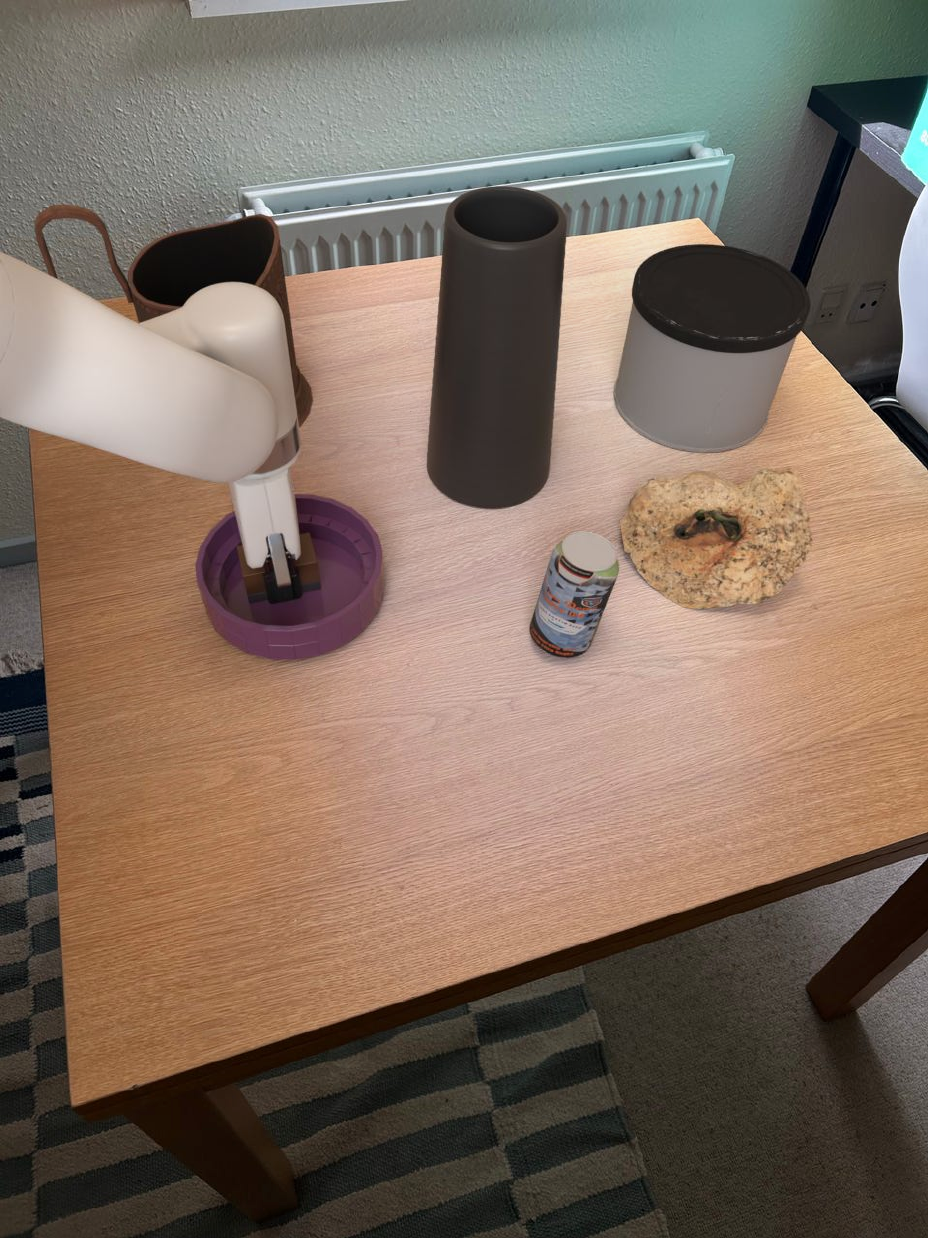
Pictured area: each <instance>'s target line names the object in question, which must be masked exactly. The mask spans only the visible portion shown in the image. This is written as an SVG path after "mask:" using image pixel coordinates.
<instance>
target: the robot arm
mask: <svg viewBox="0 0 928 1238" xmlns="http://www.w3.org/2000/svg"><path fill="white" fill-rule="evenodd" d="M0 419H3V420H6V421H8V422H11V423H13V424H16V425H19V426H22V427H25V428H27V429H31V430H35V431H37V432H40V433H44V434H46V435H47V434H48V435H51V436H54V437H57V438H61V439H65V440H69V441H72V442H75V443H78V444H82V445H85V446H88V447H92V448H95V449H98V450H101V451H104V452H107V453H111V454H113V455H116V456H119V457H122V458H125V459H128V460H131V461H134V462H138V463H140V464H143V465H145V466H150V467H153V468H156V469H159V470H162V471H166V472H169V473H173V474H175V475H181V476H185V477H189V478H192V479H193V478H194V479H198V480H202V481H205V482H211V483H216V484H225V483H226V484H228V489H229V493H230V498H231V502H232V506H233V511H235V515H236V519H237V524H238V528H239V532H240V537H241V541H242V545H243V549H244V554H245V558H246V562H247V565H248V566H250V567H251V568H253V569H254V568H259V567H262V566H263V564H264V569H265V573H263V578H264V583H265V587H266V592H267V597H268V601H269V603H270V604H275V603H280V602H286V601H290V600H295V599H299V598H301V597H302V593H301V587H300V580H299V574H298V569H297V567H295V564H294V558H295V560H297V559H298V558H299V557H300V555H301V547H300V536H299V526H298V517H297V509H296V501H295V494H296V493H295V488H294V481H293V475H292V468H291V467H292V466H293V465H294V464H295V463H296V462H297V460H298V459H299V457H300V455H301V452H302V438H301V432H300V427H299V423H298V416H297V409H296V402H295V395H294V388H293V381H292V374H291V367H290V359H289V352H288V344H287V337H286V329H285V322H284V317H283V313H282V310H281V308H280V306H279V304H278V302H277V301H276V300H275V298H274V297H273V296H272V295H271V294H269V293H268V292H267V291H266V290H264V289H262V288H260V287H257V286H255V285H251V284H248V283H241V282H224V283H218V284H214V285H210V286H208V287H205V288H203V289H201V290H199V291H198V292H196V293H195V294H194V295H192V296H191V297H190V298H189V299H188V300H187V301H186V303H185V304H184V306H183V307H181V308H179V309H176V310H174V311H172V312H169V313H167V314H164V315H161V316H158V317H155V318H153V319H150V320H147V321H144V322H141V323H139V322H136V321H134V320H133V319H130V318H128V317H127V316H125V315H123V314H121V313H119V312H118V311H115V310H114V309H112V308H110V307H108V306H107V305H105V304H103V303H101V302H100V301H99V300H96V299H95V298H93V297H91V296H90V295H88V294H86V293H84V292H82V291H81V290H79V289H77V288H75V287H74V286H72V285H70V284H68V283H66V282H64V281H62V280H60V279H59V278H58V279H56V278H54V277H52V276H50V275H49V273H46V272H44V271H42V270H40V269H38V268H36V267H34V266H32V265H30V264H28V263H27V262H24V261H22V260H20V259H18V258H15V257H14V256H11V255H8V254H7V253H4V252H2V251H0ZM286 557H287V560H288V564H287V560H286ZM269 560H272V562H273V567H271V570H270V565H269Z"/></svg>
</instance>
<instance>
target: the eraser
mask: <svg viewBox="0 0 928 1238" xmlns="http://www.w3.org/2000/svg"><path fill="white" fill-rule="evenodd" d="M299 536H300V547H301V555H300V557H299V558H298V559H297V560H295V558H294V564H295V567H297V569H298V574H299V580H300V587H301V593H304V592H309V591H314V590H319V589H321V583H320V576H319V569H318V562H317V558H316V554H315V551H314V547H313V543H312V539H311V536H310V533H303V534H299ZM237 550H238V555H239V560H240V565H241V570H242V575H243V580H244V584H245V588H246V592H247V596H248V601H249V604H250V603H255V602H260V601H265V600H268V597H267V592H266V587H265V583H264V578H263V573H265V569H264V564H263V566H262V567H259V568H254V569H253V568H251V567H250V566H248V565H247V562H246V558H245V554H244V549H243V545H240V546H237ZM286 560H287V557H286ZM287 564H288V560H287ZM269 565H270V570H271V567H273V562H272V560H269Z"/></svg>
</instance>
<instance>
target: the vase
mask: <svg viewBox="0 0 928 1238" xmlns="http://www.w3.org/2000/svg"><path fill="white" fill-rule="evenodd" d="M567 228H568V219H567V216H566V213H565V211H564V209H563V208H562V207H561V206H560V204H558V203H557V202H556V201H555V200H553V199H552V198H550V197H548V196H546V195H544V194H543V193H540V192H537V191H534V190H531V189H527V188H523V187H517V186H507V185H501V186H500V185H499V186H498V185H497V186H485V187H480V188H475V189H472V190H470V191H468V192H467V191H466V192H464V193H462V194H460V195H459V196H457V197H456V198H455V199H453V200H452V201H451V202H450V204H449V205H448V206H447V208H446V211H445V216H444V227H443V239H442V253H441V265H440V279H439V292H438V305H437V316H436V329H435V330H436V332H435V333H436V334H435V345H434V357H433V370H432V379H431V380H432V381H431V382H432V386H431V397H430V409H429V422H428V423H429V425H428V434H427V452H426V470H427V475H428V477H429V479H430V481H431V482H432V484H433V485H434V487H435V488H436V489H437V490H438V491H439V492H441V494H443V496H446V497H447V498H449V499H450V500H452V501H455V502H456V503H459V504H461V505H464V506H468V507H472V508H476V509H485V510H486V509H487V510H490V509H491V510H498V509H506V508H510V507H514V506H517V505H521V504H523V503H525V502H527V501H529V500H531V499H532V498H534V497H535V496H536V495H538V494H539V493H540V491H541V490H542V489H543V488H544V487H545V485H546V483H547V481H548V478H549V476H550V468H551V456H552V443H553V441H552V440H553V430H554V419H555V418H554V417H555V401H556V391H557V390H556V389H557V386H556V385H557V373H558V359H559V348H560V347H559V346H560V345H559V344H560V330H561V317H562V303H563V292H564V291H563V289H564V272H565V258H566V244H567Z"/></svg>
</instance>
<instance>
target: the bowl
mask: <svg viewBox="0 0 928 1238" xmlns="http://www.w3.org/2000/svg"><path fill="white" fill-rule="evenodd" d="M294 494H295V501H296V509H297V517H298V526H299V534H303V533H310V536H311V539H312V543H313V547H314V551H315V554H316V558H317V562H318V569H319V576H320V583H321V589H319V590H314V591H309V592H304V593H302V597H301V598H299V599H295V600H290V601H286V602H280V603H275V604H270V603H269V601H268V600H265V601H260V602H255V603H250V604H249V601H248V596H247V592H246V588H245V584H244V580H243V575H242V570H241V565H240V560H239V555H238V550H237V546H240V545H242V541H241V537H240V532H239V528H238V524H237V519H236V515H235V511H234V510H233V511H231V512H230V513H229V514H226V515H225V516H224V517H223V518H222V519H221V520H219V521H218V523H217V524H215V525H214V526H213V527H212V528H211V529H210V530H209V532H208V533H207V535H206V536H205V538H204V540H203V541H202V543H201V545H200V546H199V549H198V553H197V557H196V560H195V576H196V583H197V587H198V590H199V593H200V597H201V600H202V604H203V607H204V610H205V613H206V615H207V618H208V619H209V621H210V623H211V625H212V627H213V629H214V630H215V632H216V633H218V635H220V636H221V637H222V638H223V639H224V641H226V642H227V643H229V644H230V645H231V646H233V647H235V648H237V649H239V650H240V651H243V653H244V652H245V653H246V654H248V655H252V656H257V657H260V658H264V659H269V660H280V661H281V660H282V661H285V660H287V661H296V660H297V661H298V660H303V659H308V658H312V657H313V658H315V657H319V656H322V655H325V654H328V653H330V652H333V651H334V650H337V649H339V648H342V647H344V646H345V645H347V644H348V643H350V642H351V641H352V640H354V639H355V638H357V637H359V636H360V635H361V634H362V633H363V632H364V631H365V630H366V628H367V627H368V626H369V625H370V624H371V622H372V621H373V620H374V619H375V617H376V615H377V613H378V611H379V609H380V606H381V604H382V602H383V599H384V589H385V575H384V573H385V572H384V557H383V556H384V554H383V548H382V544H381V541H380V537H379V534H378V533H377V532H376V530H375V529H374V527H373V526H372V525H371V523H370V521H369V520H368V519H367V518H366V517H364V515H362V514H361V513H359V511H357V510H355V509H354V508H353V507H352V506H349V505H347V504H345V503H344V502H341V501H339V500H337V499H333V498H330V497H326V496H322V495H316V494H311V493H310V494H309V493H308V494H307V493H294Z"/></svg>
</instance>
